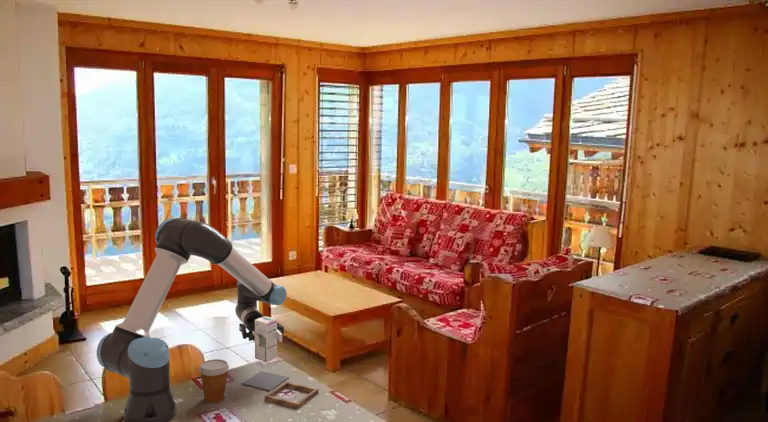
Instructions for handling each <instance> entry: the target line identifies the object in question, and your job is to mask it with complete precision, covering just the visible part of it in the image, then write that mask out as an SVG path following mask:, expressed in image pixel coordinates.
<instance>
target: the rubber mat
mask: <svg viewBox="0 0 768 422" xmlns="http://www.w3.org/2000/svg"><path fill="white" fill-rule="evenodd" d="M289 379H290V377H289V376H285V375H280V374H275V373H272V372H269V371H268V372H267V371H263V370H261V371H259V372H258V373H256V374H254V375H252V376H250V377H249V378H247V379H245V380H243V381H242V382H241V383H240V385H242V386H246V387H250V388H255V389H259V390H262V391H263V390H264V391H267V392H272V391H273V390H275V389H276V388H278V387H279V386H281V385H282V384H284V383H285V382H287V381H288V380H289Z"/></svg>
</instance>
